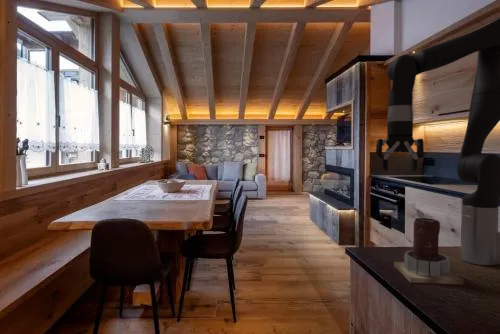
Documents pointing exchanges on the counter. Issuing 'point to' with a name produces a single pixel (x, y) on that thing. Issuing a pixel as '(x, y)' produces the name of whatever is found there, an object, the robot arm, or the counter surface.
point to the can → (426, 239)
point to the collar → (427, 265)
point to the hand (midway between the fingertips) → (399, 171)
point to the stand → (423, 279)
